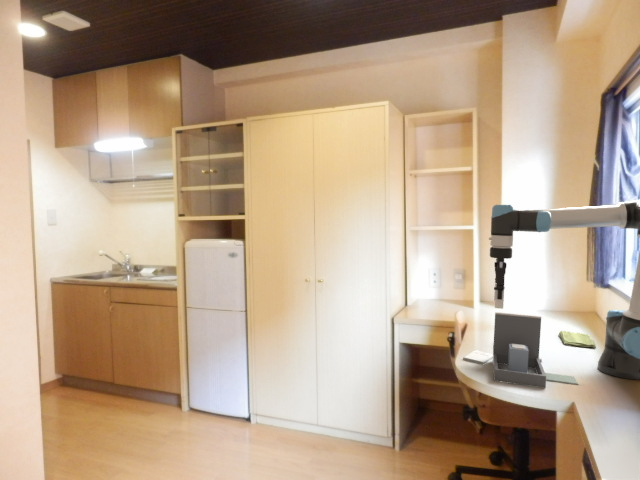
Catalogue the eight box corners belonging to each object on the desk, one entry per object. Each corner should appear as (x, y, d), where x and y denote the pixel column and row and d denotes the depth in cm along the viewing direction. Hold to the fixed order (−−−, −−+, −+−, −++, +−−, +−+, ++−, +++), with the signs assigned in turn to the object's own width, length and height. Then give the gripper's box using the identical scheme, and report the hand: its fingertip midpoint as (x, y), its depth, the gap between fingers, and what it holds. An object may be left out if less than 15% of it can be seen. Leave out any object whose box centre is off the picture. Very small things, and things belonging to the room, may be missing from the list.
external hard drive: (462, 361, 177) (474, 353, 186) (483, 366, 171) (494, 358, 181) (463, 357, 176) (474, 349, 186) (484, 362, 171) (494, 354, 181)
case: (540, 367, 170) (543, 316, 168) (548, 388, 150) (551, 330, 148) (492, 361, 175) (495, 311, 174) (494, 380, 156) (497, 325, 154)
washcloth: (563, 346, 199) (563, 339, 198) (557, 335, 215) (558, 329, 215) (597, 350, 194) (598, 343, 194) (589, 339, 210) (589, 332, 210)
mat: (574, 377, 160) (574, 376, 160) (578, 384, 154) (578, 383, 154) (543, 373, 164) (543, 372, 164) (545, 380, 157) (545, 379, 157)
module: (525, 372, 164) (527, 344, 163) (527, 378, 158) (528, 349, 158) (507, 370, 166) (509, 342, 165) (508, 375, 160) (510, 347, 160)
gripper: (489, 244, 177) (487, 297, 179) (490, 249, 154) (487, 310, 155) (510, 244, 174) (507, 298, 176) (514, 250, 151) (511, 312, 153)
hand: (498, 304), depth 166 cm, fingers open, 13 cm apart
